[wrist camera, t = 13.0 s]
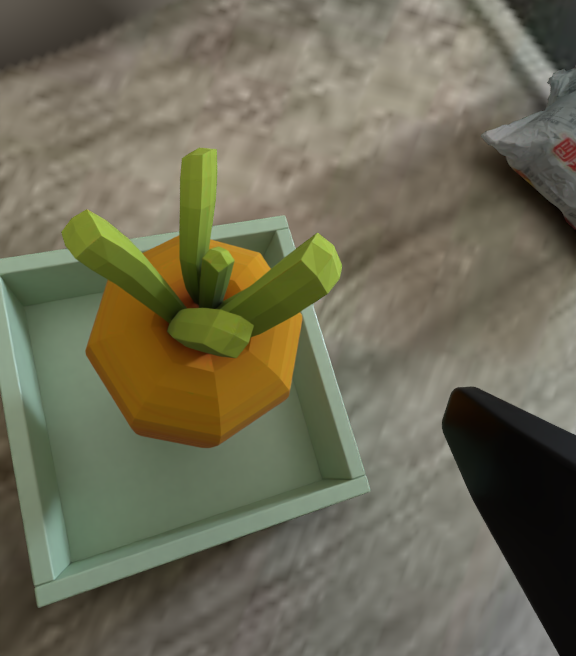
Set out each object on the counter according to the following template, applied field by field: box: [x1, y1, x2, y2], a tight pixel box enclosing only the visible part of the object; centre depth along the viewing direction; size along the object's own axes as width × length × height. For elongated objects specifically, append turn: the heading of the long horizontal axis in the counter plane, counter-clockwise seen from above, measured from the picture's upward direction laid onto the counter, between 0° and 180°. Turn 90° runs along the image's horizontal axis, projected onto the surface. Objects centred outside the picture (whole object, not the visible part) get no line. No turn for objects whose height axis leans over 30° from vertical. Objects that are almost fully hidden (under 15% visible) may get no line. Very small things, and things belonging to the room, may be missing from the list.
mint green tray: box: [0, 216, 370, 608], centre depth 20 cm, size 11×11×4 cm
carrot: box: [61, 148, 342, 448], centre depth 14 cm, size 5×5×15 cm
